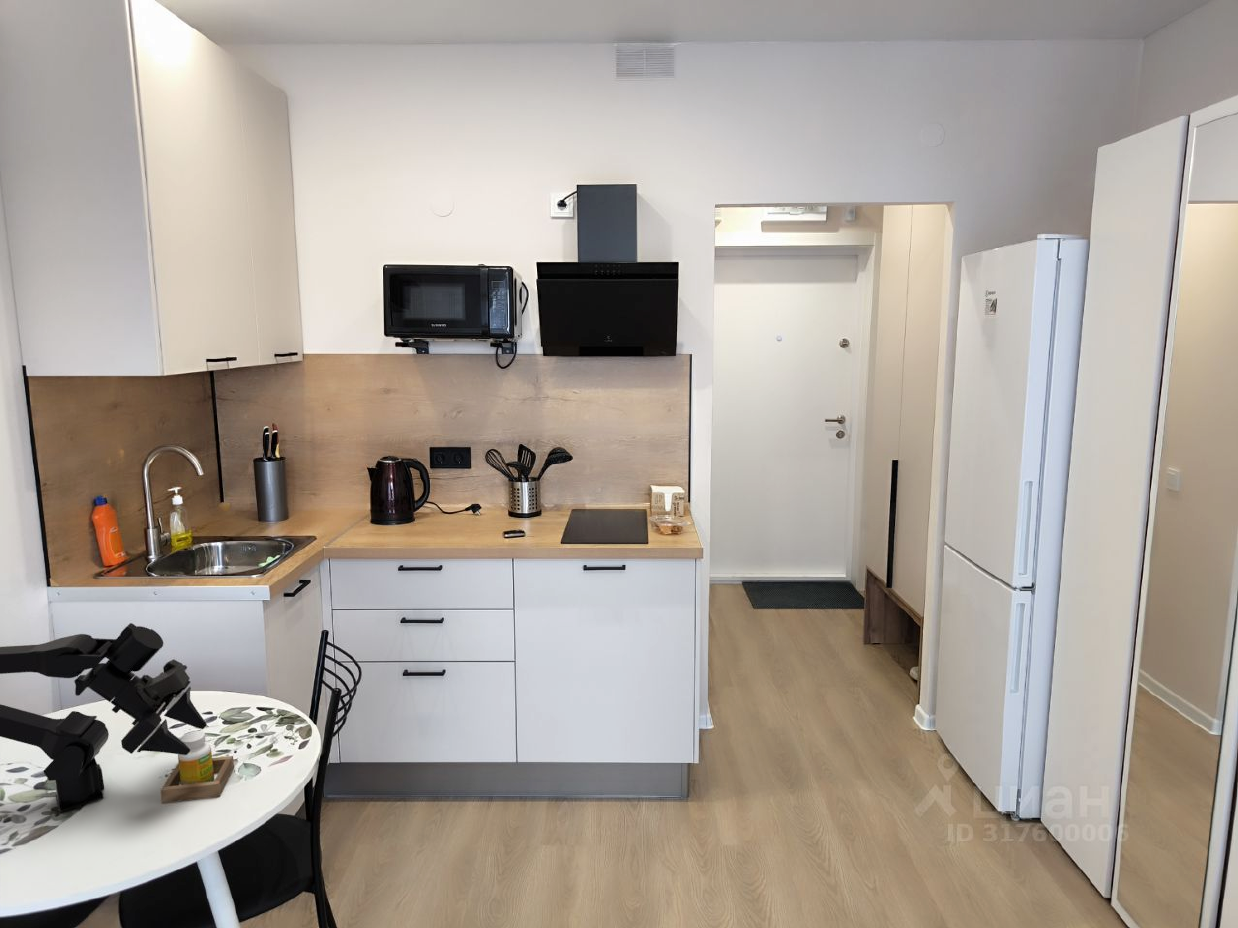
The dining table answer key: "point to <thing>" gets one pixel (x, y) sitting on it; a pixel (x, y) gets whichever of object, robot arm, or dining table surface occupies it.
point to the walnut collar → (198, 790)
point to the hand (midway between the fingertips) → (197, 739)
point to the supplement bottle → (196, 760)
